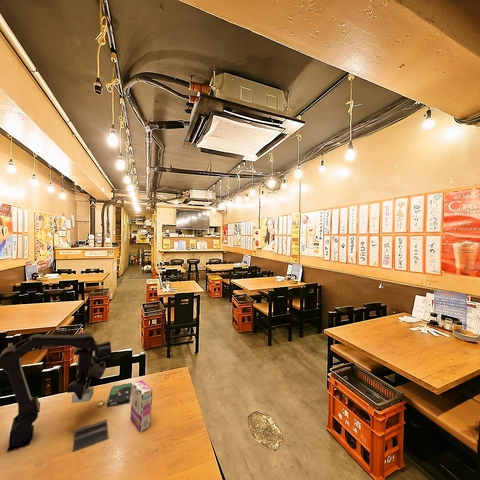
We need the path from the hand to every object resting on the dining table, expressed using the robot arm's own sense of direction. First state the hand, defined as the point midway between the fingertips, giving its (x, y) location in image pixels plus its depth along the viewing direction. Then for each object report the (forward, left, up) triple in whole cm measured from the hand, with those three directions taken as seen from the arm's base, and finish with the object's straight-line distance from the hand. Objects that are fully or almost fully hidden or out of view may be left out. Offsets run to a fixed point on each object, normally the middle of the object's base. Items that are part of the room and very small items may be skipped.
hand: (83, 395), depth 105 cm
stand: (+4, -12, -11) cm, 17 cm away
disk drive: (+17, +10, -12) cm, 23 cm away
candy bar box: (+23, -15, -11) cm, 30 cm away
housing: (0, 0, -1) cm, 1 cm away
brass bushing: (+8, +7, -11) cm, 15 cm away
